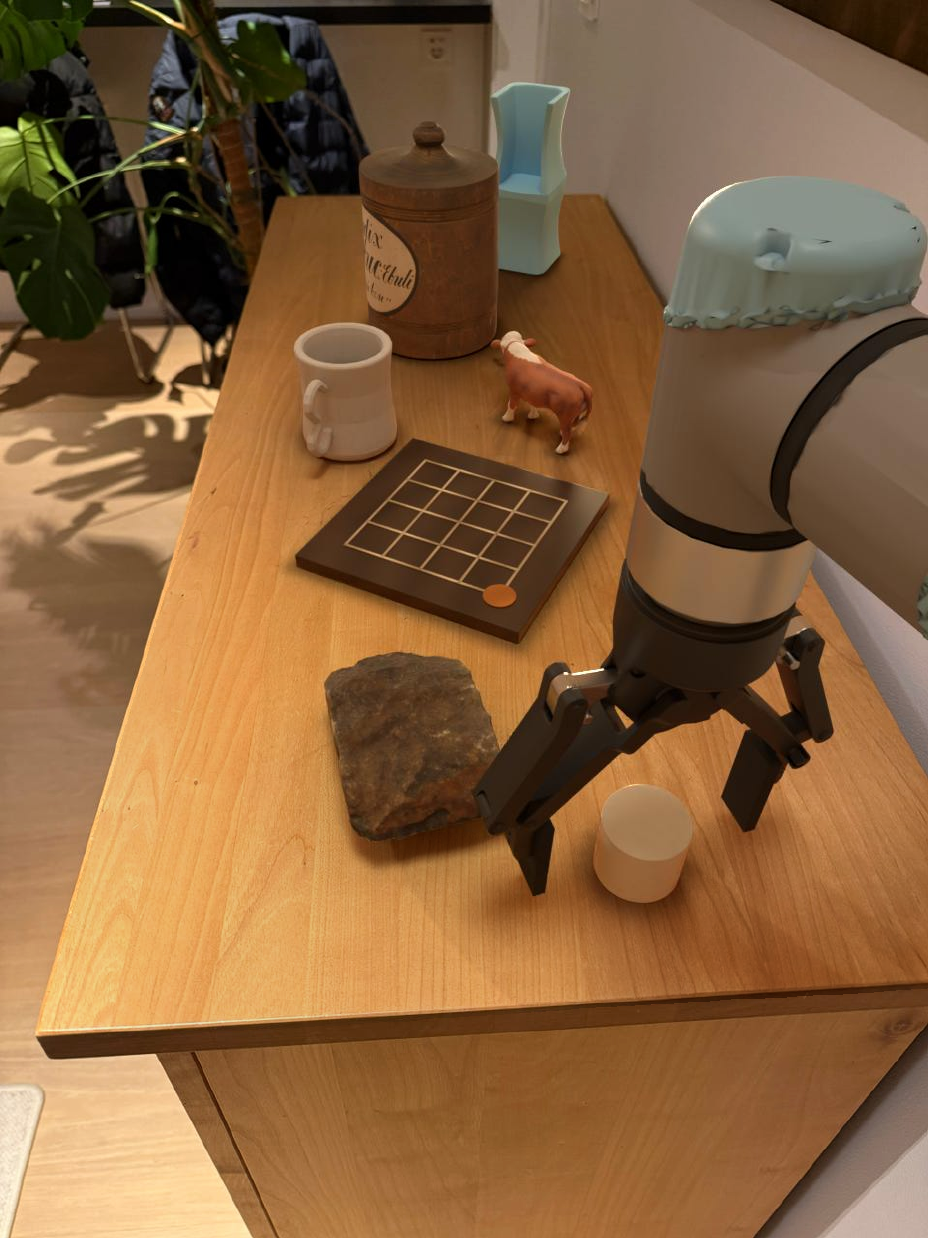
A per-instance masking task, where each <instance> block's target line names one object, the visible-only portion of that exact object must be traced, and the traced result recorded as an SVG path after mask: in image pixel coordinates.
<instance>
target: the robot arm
mask: <svg viewBox="0 0 928 1238" xmlns="http://www.w3.org/2000/svg"><path fill="white" fill-rule="evenodd" d="M927 250H928V233H927V229H926V226H925V225H924V223H923V222H922V221H921V219H920V218H919V217H918V216H917V215H914V214H912V213H911V210H910V209H909V208H908V207H907V206H906V204H905V203H904V202H902V201H900V200H899V199H897V198H896V197H893V196H891V195H889V194H887V193H884V192H883V191H879V190H876V189H874V188H870V187H867V186H864V185H860V184H857V183H853V182H848V181H842V180H837V179H833V178H825V177H816V176H804V175H803V176H802V175H777V176H776V175H775V176H766V177H760V178H754V179H749V180H743V181H739V182H735V183H733V184H730V185H728V186H725V187H723V188H721V189H719V190H717V191H716V192H714V193H713V194H711V195H710V196H708V197H707V198H706V199H705V200H704V201H703V202H702V203H701V204H700V205H699V206H698V207H697V209H696V210H695V211H694V213H693V215H692V217H691V220H690V222H689V225H688V227H687V231H686V235H685V238H684V243H683V246H682V249H681V253H680V258H679V261H678V265H677V269H676V273H675V277H674V279H673V284H672V288H671V291H670V296H669V300H668V304H667V305H666V306H665V307H664V309H663V312H662V322H663V323H664V329H663V333H662V340H661V346H660V351H659V359H658V364H657V369H656V375H655V381H654V387H653V393H652V398H651V404H650V405H651V406H650V409H649V417H648V422H647V428H646V434H645V439H644V444H643V445H644V446H643V452H642V457H641V463H640V469H639V476H638V481H637V488H636V494H635V498H634V506H633V511H632V516H631V521H630V526H629V531H628V532H629V533H628V538H627V543H626V549H625V553H624V554H625V558H624V560H623V562H622V564H621V571H620V575H619V581H618V586H617V592H616V597H615V603H614V608H613V613H612V647H611V650H610V652H609V654H608V655H607V656H606V658H605V659H604V660H603V662H602V663H601V665H600V667H599V669H594V670H587V671H583V672H582V671H581V672H575V673H572V671H571V669H570V667H569V666H568V664H567V663H566V662H565V661H555V662H553V663H551V664H549V665H548V666H547V667H546V668H545V670H544V671H543V673H542V678H541V682H540V686H539V689H538V693H537V696H536V699H535V700H534V701H533V702H532V705H530V707H529V709H528V710H527V711H526V713H525V714H524V716H523V717H522V719H521V720H520V721H519V723H518V725H516V727H515V729H514V731H512V733H511V734H510V736H509V738H508V739H507V740H506V741H505V743H504V745H503V746H502V748H501V749H500V752H499V753H498V755H497V756H496V758H495V759H494V761H493V762H492V763H491V765H490V766H489V768H488V769H487V771H486V772H485V774H484V775H483V776H482V778H481V779H480V781H479V782H478V784H477V785H476V787H475V788H474V789H473V792H472V795H473V798H474V800H475V803H476V805H477V808H478V810H479V812H480V815H481V817H482V818H481V820H482V822H483V824H484V827H485V829H486V832H487V834H488V835H489V836H492V837H493V836H494V837H495V836H499V835H502V834H503V835H504V837H505V840H506V842H507V844H508V847H509V849H510V852H511V854H512V856H513V858H514V859H515V861H517V864H518V865H519V868H520V870H521V873H522V875H523V877H524V880H525V882H526V885H527V887H528V889H529V891H530V894H531V896H532V898H533V897H537V896H541V895H544V894H546V891H547V890H546V889H547V883H548V878H549V872H550V871H549V870H550V864H551V863H550V862H551V856H552V852H553V845H554V839H555V832H556V828H555V826H554V824H553V822H552V821H553V820H552V819H551V817H553V816H554V815H556V813H557V812H558V811H560V809H562V808H563V807H564V806H566V804H567V803H568V802H569V801H571V799H573V797H574V796H576V795H577V794H578V793H579V792H580V791H582V790H583V788H584V787H586V786H587V785H588V784H589V783H590V782H592V780H594V778H596V777H597V776H598V775H599V774H600V773H601V772H602V771H604V769H606V767H607V766H609V765H610V764H612V762H614V760H615V759H617V758H618V757H619V756H620V755H621V754H625V755H627V756H631V755H634V754H636V752H638V750H640V749H641V748H642V747H643V746H645V744H646V743H647V742H649V740H650V739H652V738H653V737H654V736H655V735H658V734H661V733H665V732H668V731H670V730H673V729H674V728H678V727H680V726H682V725H690V724H691V725H692V724H699V723H702V722H706V721H710V720H711V717H712V715H714V714H716V713H718V712H720V711H721V710H723V711H726V712H727V713H728V714H729V715H730V716H732V718H734V719H735V720H736V721H737V722H738V723H740V724H741V725H745V726H746V727H748V729H745V730H744V732H743V735H742V737H741V741H740V743H739V746H738V749H737V750H736V754H735V757H734V759H733V762H732V765H731V767H730V770H729V773H728V776H727V779H726V782H725V784H724V787H723V790H722V793H721V795H720V798H721V800H722V802H723V804H725V806H726V808H727V809H728V811H729V813H730V814H731V815H732V818H733V819H734V820H735V821H736V823H737V825H738V826H739V828H740V829H741V831H742V833H744V834H745V833H748V832H752V831H754V830H756V827H757V825H758V822H759V821H760V818H761V816H762V814H763V811H764V809H765V806H766V804H767V802H768V799H769V797H770V794H771V792H772V790H773V788H774V786H775V785H776V784H778V782H779V781H780V780H781V779H783V776H784V773H785V771H786V769H787V766H788V765H789V767H790V768H791V769H792V770H799V769H801V768H804V767H805V766H806V765H807V764H808V763H809V762H810V761H811V758H812V757H811V754H809V752H808V751H807V749H806V748H805V747H804V745H803V743H805V742H807V741H810V740H813V742H814V743H815V744H822V743H824V742H826V741H828V740H830V739H831V738H832V737H833V735H834V733H835V729H834V725H833V720H832V716H831V711H830V708H829V704H828V701H827V700H828V699H827V696H826V691H825V688H824V683H823V679H822V675H821V670H820V667H819V666H820V663H821V660H822V655H823V652H824V649H825V646H826V640H825V639H824V637H822V635H821V634H820V633H819V632H818V630H816V628H815V627H814V625H812V623H811V622H810V621H809V620H808V619H807V617H805V616H804V614H803V613H802V612H801V611H800V609H798V608H797V607H796V605H797V601H798V600H799V599H800V598H801V596H802V593H803V589H804V588H805V584H806V581H807V579H808V575H809V573H810V570H811V567H812V564H813V562H814V559H815V556H816V554H817V551H818V549H819V550H820V551H821V552H822V553H824V554H825V555H826V556H827V557H829V559H831V560H832V561H833V562H835V563H836V564H837V565H838V566H839V567H840V568H842V569H843V570H844V571H845V572H846V573H848V574H849V575H850V576H851V577H852V578H854V579H855V581H858V583H859V584H860V585H861V586H863V587H864V588H866V590H868V591H869V592H870V593H872V594H873V595H874V596H875V597H876V598H878V599H879V600H880V601H881V602H882V603H884V605H886V607H888V608H890V610H892V611H893V612H894V613H896V615H898V616H899V617H900V618H901V619H902V620H903V621H905V622H906V623H907V624H908V625H910V626H911V627H912V628H913V629H915V630H916V631H917V632H918V633H919V634H921V635H922V638H923V639H925V640H927V641H928V314H925V313H924V312H922V311H920V310H918V309H917V308H916V307H915V306H914V305H912V302H913V301H914V300H915V298H916V297H917V293H918V292H919V289H920V286H921V285H922V284H923V280H922V278H921V272H922V268H923V265H924V263H925V262H924V261H925V259H926V254H927V252H928V251H927ZM774 664H775V665H776V669H777V672H778V676H779V679H780V682H781V684H782V685H781V686H782V688H783V692H784V695H785V698H786V701H787V704H788V708H789V710H790V711H789V712H787V713H785V714H782V715H781V714H780V713H779V712H778V711H776V709H774V707H772V705H770V703H768V701H766V700H765V699H764V698H763V697H762V696H761V695H759V693H758V692H756V690H754V688H752V687H751V686H750V684H752V683H754V682H756V681H757V680H759V679H760V678H762V677H763V676H765V674H766V673H767V672H768V671H769V670H770V669H771V668H772V666H773V665H774ZM616 708H617V709H618V710H619V711H621V713H623V714H624V716H626V717H627V718H628V719H629V720H630V721H631V722H632V723H631V724H630V725H629V726H628V727H627V726H626V724H625V723H624V722H623V719H622V718H621V716H620V715H619V713H618V711H617V710H616Z"/></svg>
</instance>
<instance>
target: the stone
mask: <svg viewBox="0 0 928 1238" xmlns="http://www.w3.org/2000/svg"><path fill="white" fill-rule="evenodd" d="M323 687H324V691H325V692H324V695H325V702H326V709H327V713H328V717H329V721H330V727H331V733H332V739H333V745H334V749H335V754H336V757H337V759H338V760H339V762H338V770H339V775H340V776H339V777H340V782H341V788H342V793H343V795H344V798H345V805H346V808H347V812H348V817H349V824H350V826H351V829H352V830H353V831H354V832H355V833H356V834H357V836H358V837H361V838H363V839H366V840H367V841H369V842H374V843H379V842H384V841H386V840H399V841H400V840H404V839H405V838H408V837H411V836H413V835H418V834H421V833H425V832H429V831H434V830H439V829H444V828H447V827H449V826H456V825H461V824H463V823H467V822H471V821H474V820H479V819H482V817H481V815H480V812H479V810H478V808H477V805H476V803H475V800H474V798H473V795H472V792H473V789H474V788H475V787H476V785H477V784H478V782H479V781H480V779H481V778H482V776H483V775H484V774H485V772H486V771H487V769H488V768H489V766H490V765H491V763H492V762H493V761H494V759H495V758H496V756H497V755H498V753H499V752H500V751H501V749H500V745H499V741H498V739H497V736H496V733H495V729H494V728H493V722H492V716H491V715H490V713H488V712H487V710H486V708H485V706H484V704H483V699H482V695H481V692H480V690H479V689H478V688H477V686H476V683H475V681H474V680H473V676H472V672H471V670H470V669H469V668H467V667H466V666H465V665H464V663H463V661H461V660H459V659H457V658H451V657H450V658H449V657H445V656H441V655H421V654H418V653H413V652H403V651H394V652H393V651H392V652H388V653H383V654H376V655H375V654H374V655H372V656H367V657H364V658H362V659H359V660H357V661H356V663H355V664H354V665H352V666H348V667H341V668H337V669H336V670H333V671H331V672H330V673H329V675H328V676H327V677H326V678H325V681H324V682H323Z"/></svg>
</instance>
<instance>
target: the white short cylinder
mask: <svg viewBox="0 0 928 1238" xmlns="http://www.w3.org/2000/svg"><path fill="white" fill-rule="evenodd" d="M599 819H600V820H599V824H598V830H597V835H596V840H595V845H594V849H593V856H592V863H593V868H594V869H593V870H594V872H595V874H596V877H597V878H598V880H599V881H600V883H601V884H602V885H603V886H604V887H605V889H606V890H608V891H609V892H610V893H611V894H613V895H614V896H616V897H618V898H620V899H622V900H625V901H627V902H632V903H637V904H648V903H655V902H657V901H660V900H662V899H664V898H665V897H667V896H668V895H670V894H671V893H672V892H673V891H674V890H675V888H676V887H677V884H678V882H679V880H680V878H681V877H680V876H681V874H682V872H683V871H682V870H683V867H684V865H685V861H686V858H687V855H688V852H689V850H690V849H689V848H690V846H691V842H692V839H693V835H694V822H693V817H692V815H691V813H690V811H689V809H688V807H687V806H686V805H685V804H684V802H682V800H681V799H679V797H678V796H676V795H675V794H673V793H672V792H670V791H668V790H666V789H664V788H663V787H659V786H656V785H652V784H646V783H637V784H635V783H634V784H630V785H629V784H628V785H625V786H623V787H620V788H618V789H616V791H613V792H612V794H610V795H609V796H608V797H607V798H606V800H605V801H604V804H603V805H602V809H601V814H600V818H599Z"/></svg>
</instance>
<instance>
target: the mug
mask: <svg viewBox="0 0 928 1238" xmlns="http://www.w3.org/2000/svg"><path fill="white" fill-rule="evenodd" d="M392 354H393V352H392V341H391V339H390V337H389V336H388V335H387V334H386V333H385V332H383V331H382V330H380V329H378V328H376V327H373V326H369V324H365V323H359V322H335V323H328V324H327V323H326V324H322V325H320V326H316V327H314V328H311V329H308V330H307V331H305V332H304V333H302V334H300V335H299V337H297V339H296V340H295V342H294V345H293V355H294V358H295V362H296V366H297V369H298V374H299V378H300V385H301V396H302V435H303V438H304V440H305V444H306V449H307V451H308V452H309V453H310V455H311V456H312V457H315V458H320V457H322V458H326V459H329V460H333V461H339V462H358V461H363V460H367V459H371V458H374V457H376V456H378V455H380V454H382V453H384V452H385V451H386V450H388V448H390V447H391V446H392V445H393V444H394V443H395V440H396V438H397V434H398V423H397V416H396V411H395V406H394V400H393V390H392V378H391V367H392Z"/></svg>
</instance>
